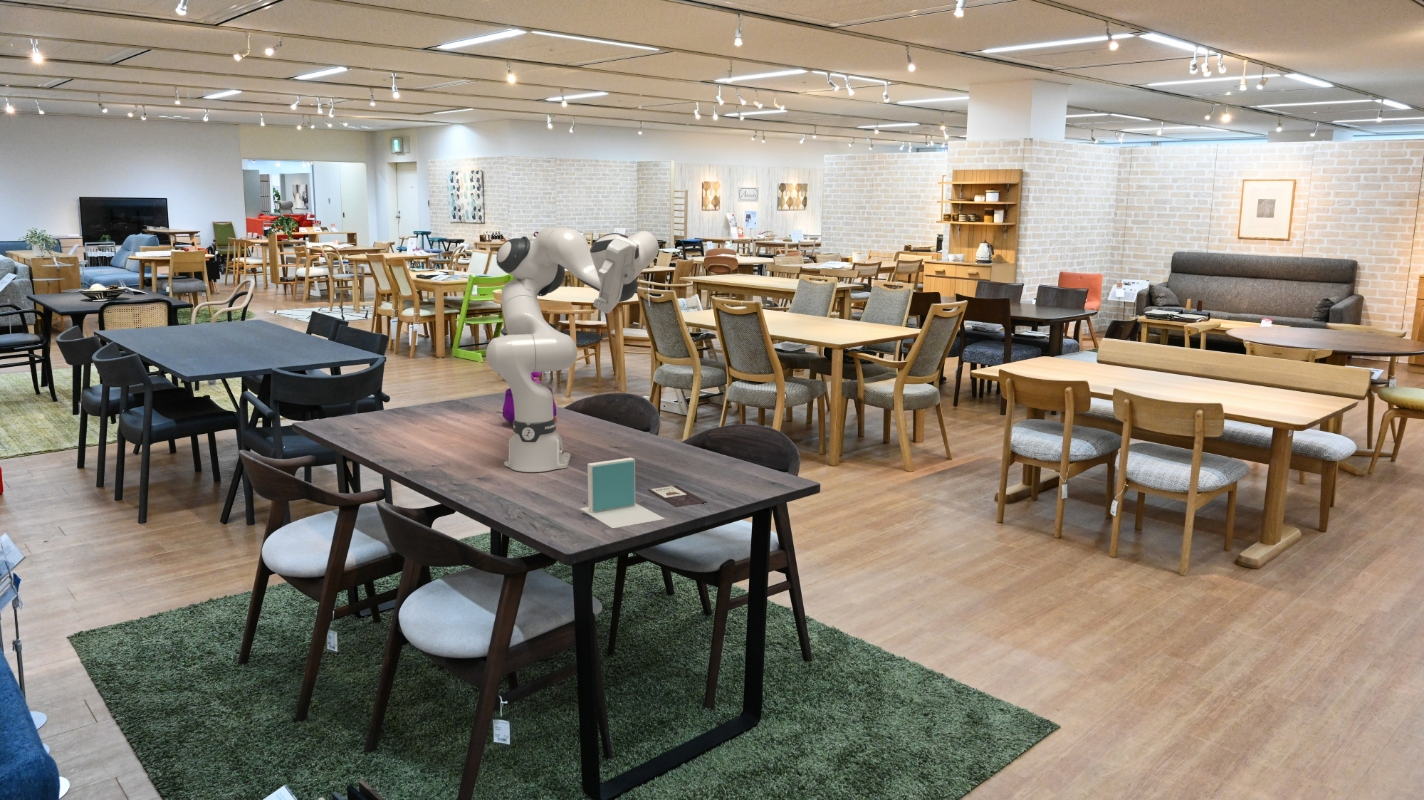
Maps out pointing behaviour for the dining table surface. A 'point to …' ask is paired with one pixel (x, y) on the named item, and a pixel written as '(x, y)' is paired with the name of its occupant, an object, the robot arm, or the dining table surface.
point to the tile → (611, 484)
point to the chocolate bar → (676, 496)
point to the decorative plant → (509, 403)
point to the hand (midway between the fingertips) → (598, 290)
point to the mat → (624, 516)
